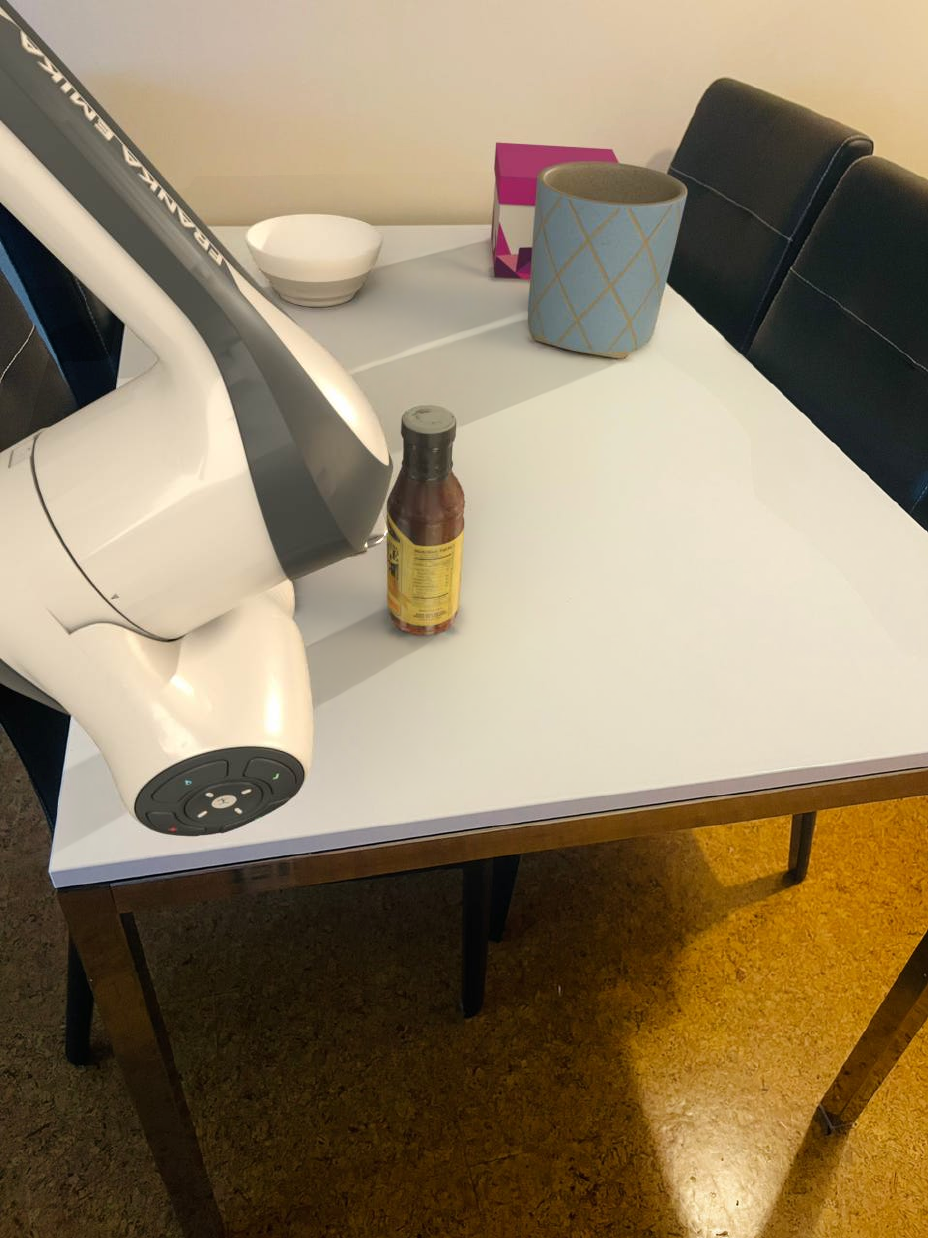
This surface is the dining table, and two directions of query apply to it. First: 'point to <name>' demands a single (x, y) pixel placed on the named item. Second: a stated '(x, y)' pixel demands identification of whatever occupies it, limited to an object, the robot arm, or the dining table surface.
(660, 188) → the planter
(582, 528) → the dining table surface
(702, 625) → the dining table surface
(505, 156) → the decorative box
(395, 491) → the sauce bottle
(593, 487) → the dining table surface
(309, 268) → the bowl
